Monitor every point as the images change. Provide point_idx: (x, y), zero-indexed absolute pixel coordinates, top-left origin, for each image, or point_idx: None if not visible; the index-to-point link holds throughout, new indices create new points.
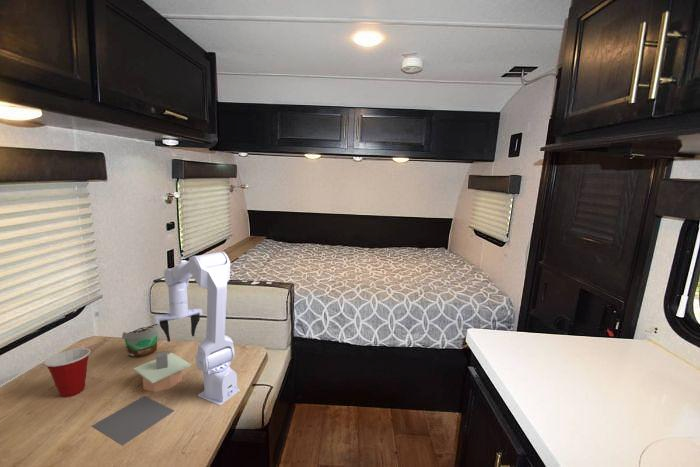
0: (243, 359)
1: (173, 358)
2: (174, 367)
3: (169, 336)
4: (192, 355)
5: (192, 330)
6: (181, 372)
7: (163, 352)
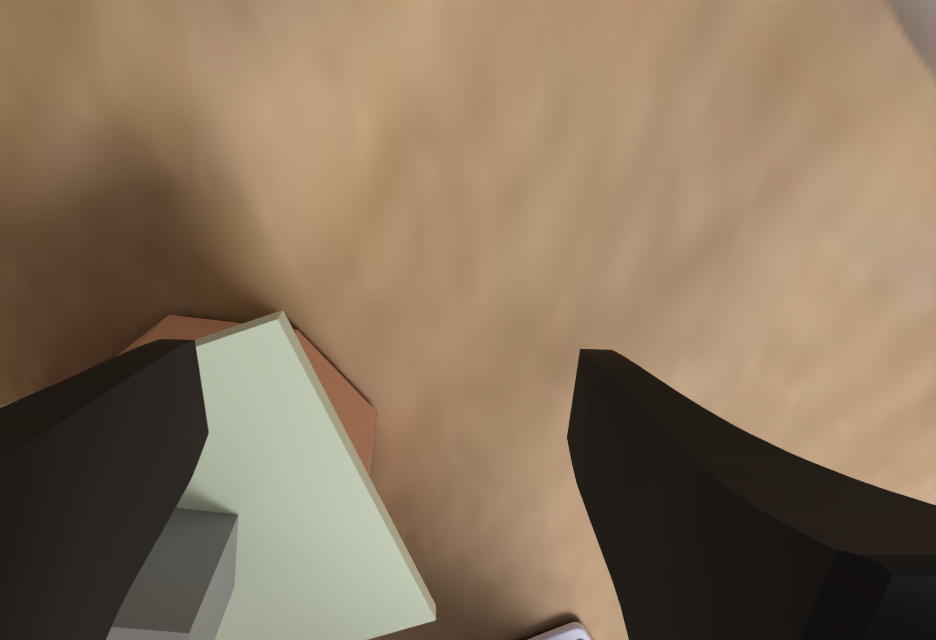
0: (860, 447)
1: (292, 459)
2: (295, 613)
3: (163, 528)
4: (532, 111)
5: (600, 539)
6: (372, 446)
7: (141, 633)
